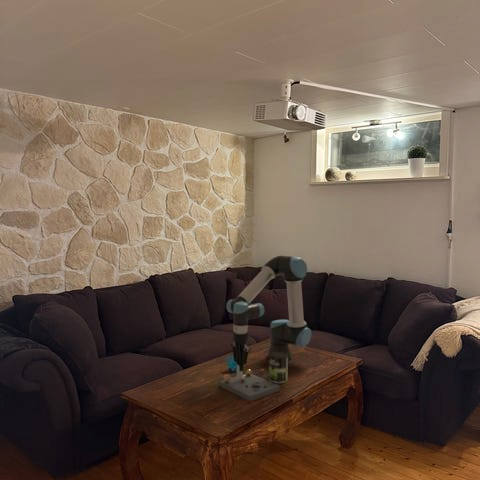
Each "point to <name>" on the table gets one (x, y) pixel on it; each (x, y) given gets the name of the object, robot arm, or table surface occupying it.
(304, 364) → the table surface
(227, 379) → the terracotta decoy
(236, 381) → the plate
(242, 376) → the steel ball
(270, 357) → the coffee can
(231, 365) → the gear
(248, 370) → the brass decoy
